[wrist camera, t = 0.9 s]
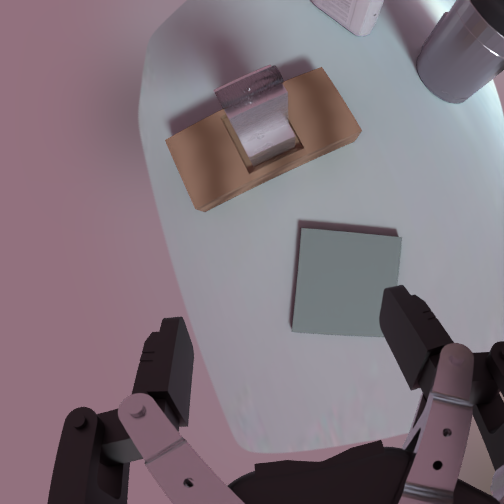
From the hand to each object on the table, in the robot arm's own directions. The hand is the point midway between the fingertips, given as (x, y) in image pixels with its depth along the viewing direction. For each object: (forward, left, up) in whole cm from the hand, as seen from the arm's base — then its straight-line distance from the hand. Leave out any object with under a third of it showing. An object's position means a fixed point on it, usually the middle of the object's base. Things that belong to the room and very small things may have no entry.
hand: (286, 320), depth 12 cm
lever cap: (-14, -4, -21) cm, 26 cm away
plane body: (-14, -4, -24) cm, 29 cm away
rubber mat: (+2, +7, -24) cm, 25 cm away
